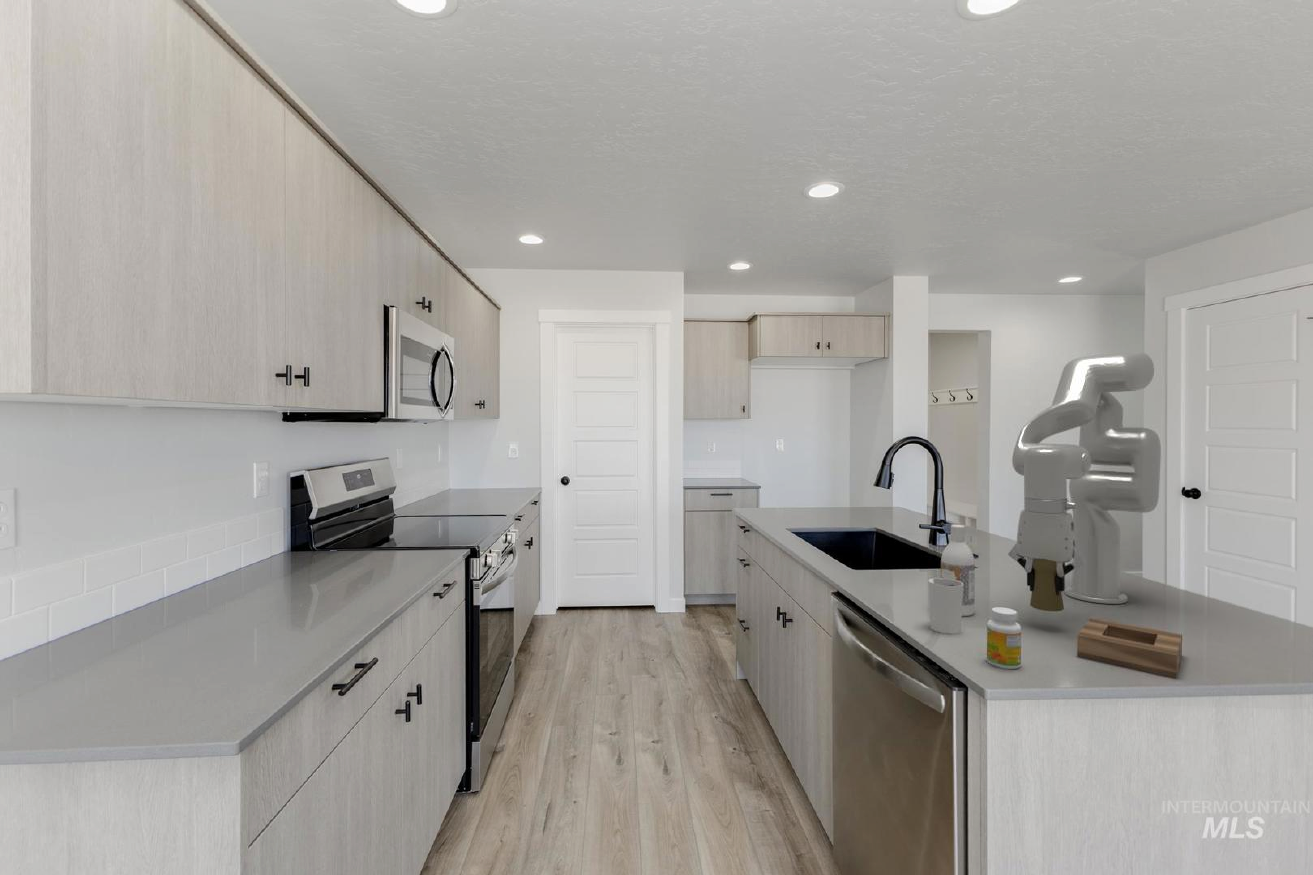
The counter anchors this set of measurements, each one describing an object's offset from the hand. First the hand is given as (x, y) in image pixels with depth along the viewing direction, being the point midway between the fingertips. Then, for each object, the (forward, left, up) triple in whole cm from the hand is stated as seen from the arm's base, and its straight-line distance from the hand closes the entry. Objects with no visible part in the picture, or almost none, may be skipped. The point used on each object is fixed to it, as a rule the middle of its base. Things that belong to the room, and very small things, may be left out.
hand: (1045, 590), depth 127 cm
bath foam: (+1, -17, -8) cm, 19 cm away
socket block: (+7, +15, -8) cm, 18 cm away
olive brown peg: (0, 0, -3) cm, 4 cm away
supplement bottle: (+27, -1, -8) cm, 28 cm away
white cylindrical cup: (+15, -15, -8) cm, 23 cm away
